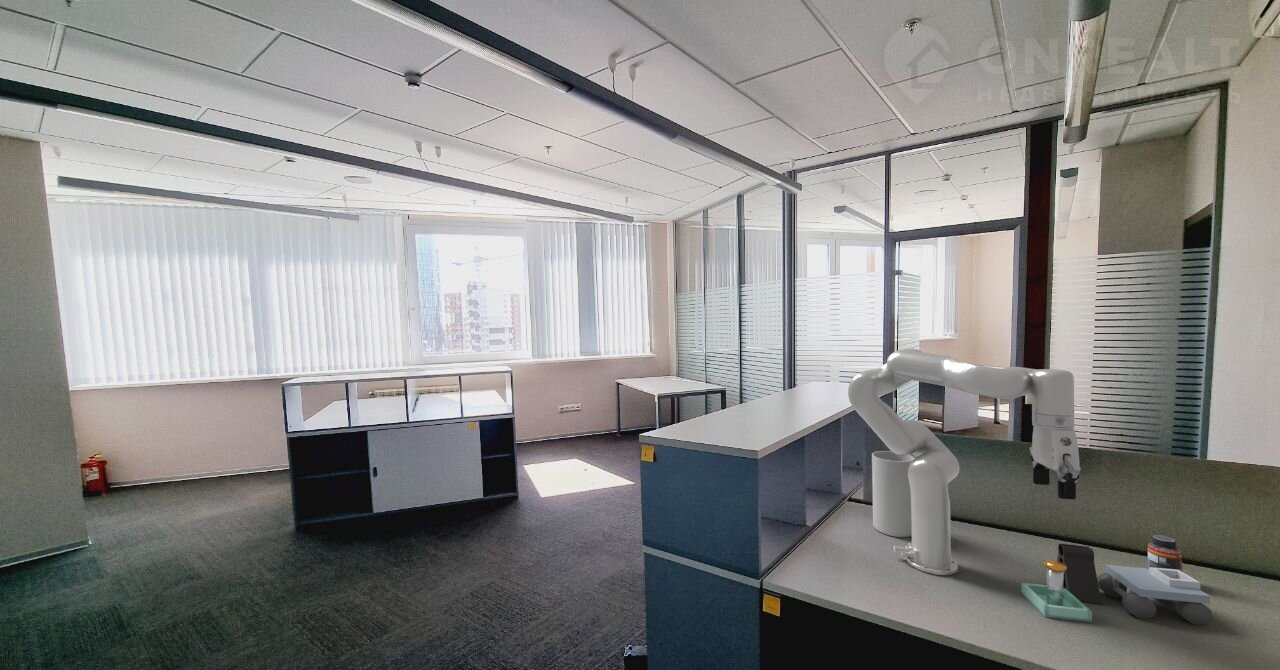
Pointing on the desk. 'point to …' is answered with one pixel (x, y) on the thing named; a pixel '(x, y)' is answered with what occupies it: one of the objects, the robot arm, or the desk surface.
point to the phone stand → (1080, 572)
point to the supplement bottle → (1164, 553)
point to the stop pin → (1055, 581)
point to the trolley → (1156, 591)
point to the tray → (1068, 611)
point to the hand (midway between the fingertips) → (1053, 491)
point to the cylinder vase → (891, 493)
